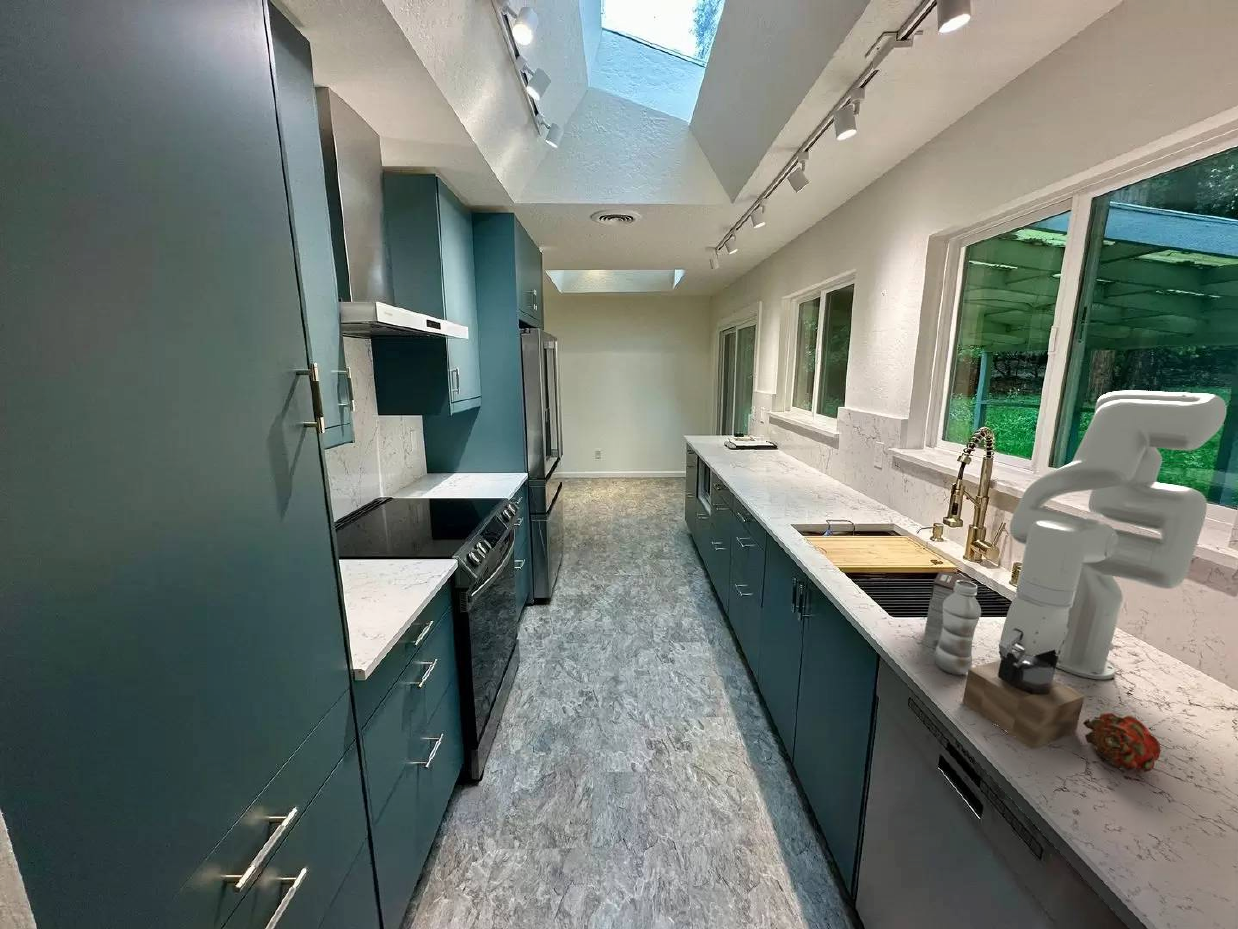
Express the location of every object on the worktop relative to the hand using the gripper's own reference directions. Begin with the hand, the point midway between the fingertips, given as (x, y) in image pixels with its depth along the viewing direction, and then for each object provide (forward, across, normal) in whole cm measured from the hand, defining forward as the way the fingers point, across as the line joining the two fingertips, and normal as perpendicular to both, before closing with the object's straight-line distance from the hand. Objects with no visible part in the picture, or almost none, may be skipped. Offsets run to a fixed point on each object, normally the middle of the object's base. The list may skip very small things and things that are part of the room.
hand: (1025, 676), depth 86 cm
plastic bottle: (+9, -2, -14) cm, 17 cm away
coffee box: (+9, -10, -22) cm, 26 cm away
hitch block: (+9, 0, 0) cm, 9 cm away
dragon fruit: (+9, -6, +12) cm, 16 cm away
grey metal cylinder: (+8, 0, 0) cm, 8 cm away
